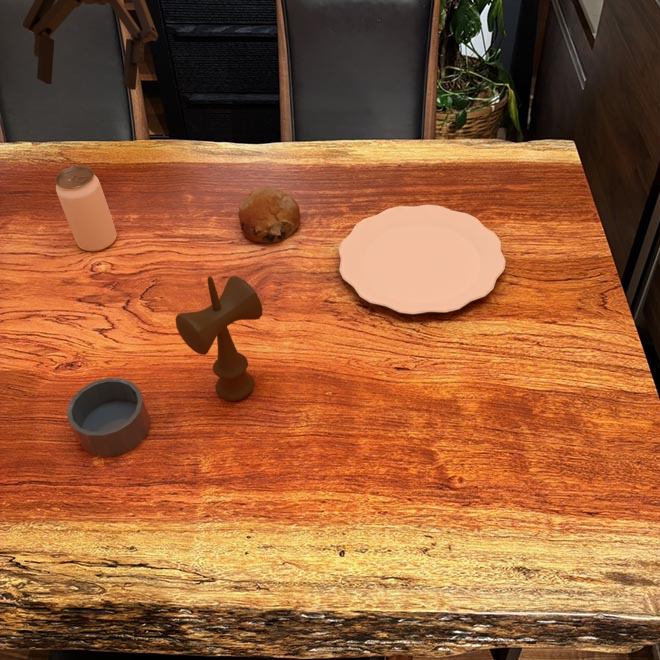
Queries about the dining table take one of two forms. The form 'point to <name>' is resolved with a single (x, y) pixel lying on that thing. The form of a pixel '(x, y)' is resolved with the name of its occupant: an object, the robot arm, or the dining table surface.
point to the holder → (109, 417)
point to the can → (85, 208)
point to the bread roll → (268, 215)
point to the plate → (421, 259)
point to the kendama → (223, 334)
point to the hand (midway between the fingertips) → (86, 84)
